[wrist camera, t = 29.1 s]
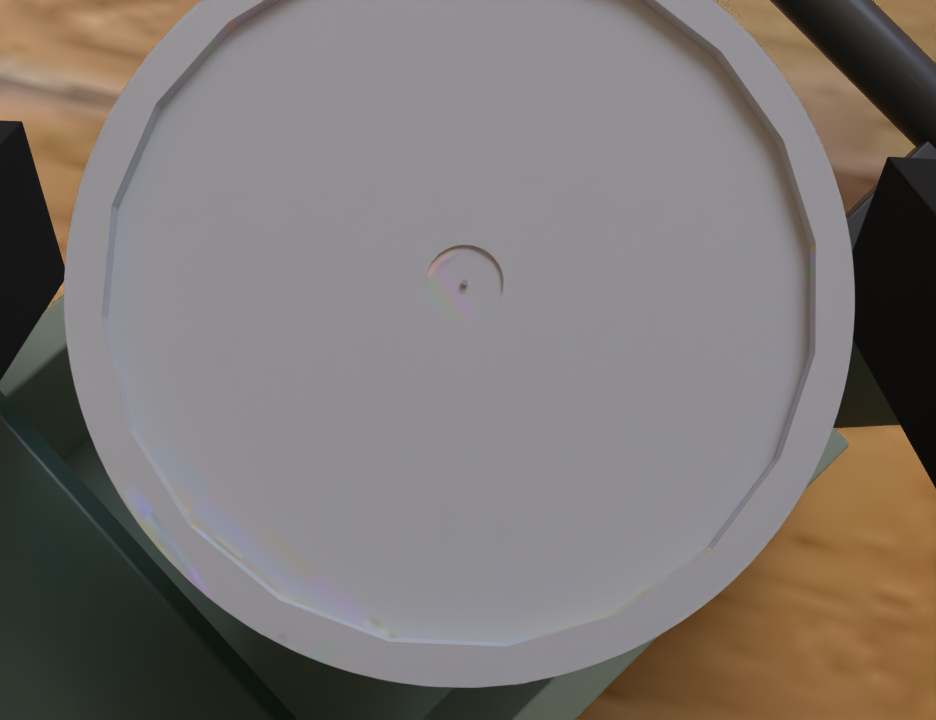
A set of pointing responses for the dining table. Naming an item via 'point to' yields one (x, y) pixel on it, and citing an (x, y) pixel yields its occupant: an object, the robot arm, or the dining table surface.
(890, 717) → the dining table surface
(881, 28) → the drawer
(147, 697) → the cabinet
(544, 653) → the bottle
